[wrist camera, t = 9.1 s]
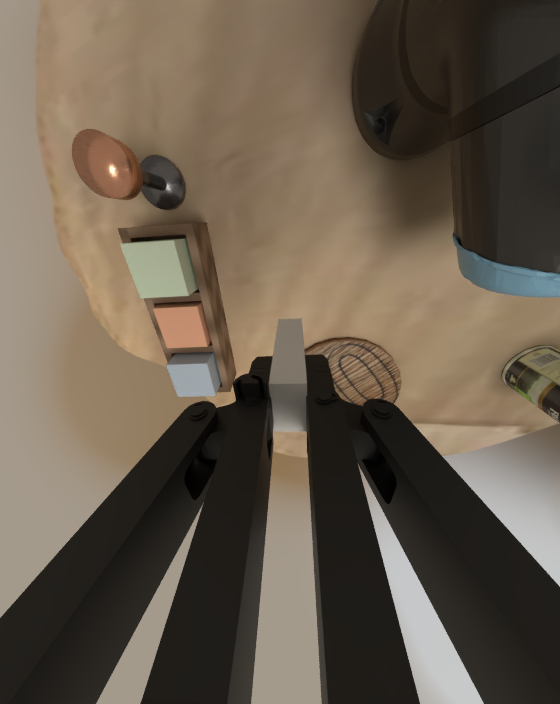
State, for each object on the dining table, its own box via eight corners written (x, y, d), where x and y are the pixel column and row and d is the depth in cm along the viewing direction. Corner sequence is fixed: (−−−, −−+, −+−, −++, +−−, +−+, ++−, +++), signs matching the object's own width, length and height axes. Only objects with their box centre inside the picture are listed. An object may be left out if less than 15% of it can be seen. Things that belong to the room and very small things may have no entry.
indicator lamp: (135, 159, 30) (52, 124, 20) (178, 155, 30) (117, 117, 19) (151, 211, 33) (86, 206, 23) (190, 208, 33) (143, 201, 22)
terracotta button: (165, 300, 37) (152, 308, 33) (205, 298, 36) (197, 306, 33) (177, 337, 40) (167, 348, 37) (214, 335, 40) (207, 346, 36)
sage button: (138, 241, 31) (119, 243, 27) (186, 238, 30) (173, 240, 27) (155, 290, 34) (140, 298, 31) (198, 288, 34) (188, 295, 30)
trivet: (327, 440, 58) (328, 446, 57) (258, 383, 50) (257, 389, 48) (418, 390, 49) (423, 396, 48) (354, 310, 40) (357, 314, 39)
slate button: (176, 352, 40) (166, 364, 36) (213, 351, 39) (206, 363, 36) (186, 382, 43) (178, 396, 40) (221, 381, 43) (215, 395, 39)
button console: (143, 227, 34) (117, 228, 29) (206, 222, 34) (192, 223, 29) (190, 374, 48) (179, 393, 43) (236, 373, 48) (230, 391, 43)
